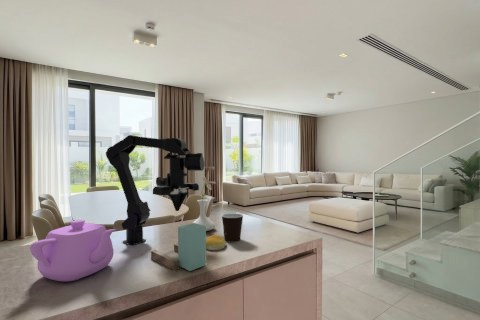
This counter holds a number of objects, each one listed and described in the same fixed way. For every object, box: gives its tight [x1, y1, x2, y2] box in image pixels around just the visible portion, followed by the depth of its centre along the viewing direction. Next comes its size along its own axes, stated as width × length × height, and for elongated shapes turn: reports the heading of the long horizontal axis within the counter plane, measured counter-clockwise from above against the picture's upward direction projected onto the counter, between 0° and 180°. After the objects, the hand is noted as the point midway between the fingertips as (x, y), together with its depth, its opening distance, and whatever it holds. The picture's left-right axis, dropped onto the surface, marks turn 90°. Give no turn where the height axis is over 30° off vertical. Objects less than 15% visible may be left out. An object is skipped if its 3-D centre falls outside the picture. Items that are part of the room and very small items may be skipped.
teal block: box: [177, 222, 207, 272], centre depth 80 cm, size 6×6×12 cm
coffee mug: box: [221, 212, 244, 243], centre depth 108 cm, size 12×9×10 cm
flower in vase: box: [192, 175, 216, 232], centre depth 122 cm, size 13×11×25 cm
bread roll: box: [206, 234, 227, 251], centre depth 98 cm, size 8×9×4 cm
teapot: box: [29, 219, 116, 282], centre depth 74 cm, size 23×21×15 cm
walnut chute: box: [150, 242, 184, 271], centre depth 86 cm, size 14×10×2 cm
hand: (177, 210), depth 101 cm, fingers closed
